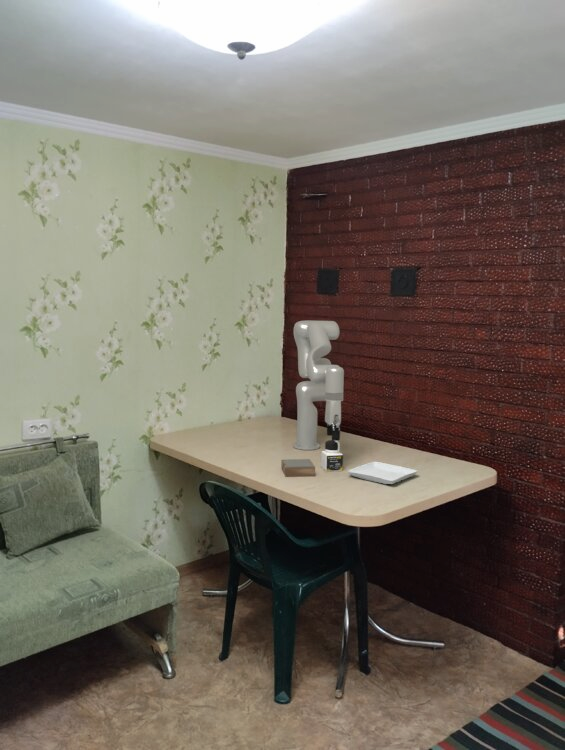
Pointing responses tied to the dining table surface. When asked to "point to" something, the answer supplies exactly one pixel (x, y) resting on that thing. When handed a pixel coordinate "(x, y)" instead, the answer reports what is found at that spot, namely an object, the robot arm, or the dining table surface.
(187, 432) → the dining table surface
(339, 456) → the medicine bottle
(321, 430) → the dining table surface
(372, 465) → the salad plate
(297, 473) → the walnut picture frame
